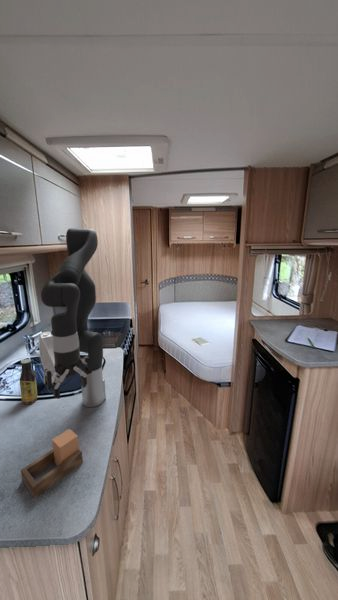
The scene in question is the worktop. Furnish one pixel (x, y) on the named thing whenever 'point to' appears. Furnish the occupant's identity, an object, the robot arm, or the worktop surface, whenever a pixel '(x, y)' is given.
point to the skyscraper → (47, 352)
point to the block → (65, 446)
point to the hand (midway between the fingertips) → (71, 391)
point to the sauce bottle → (28, 383)
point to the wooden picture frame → (53, 475)
